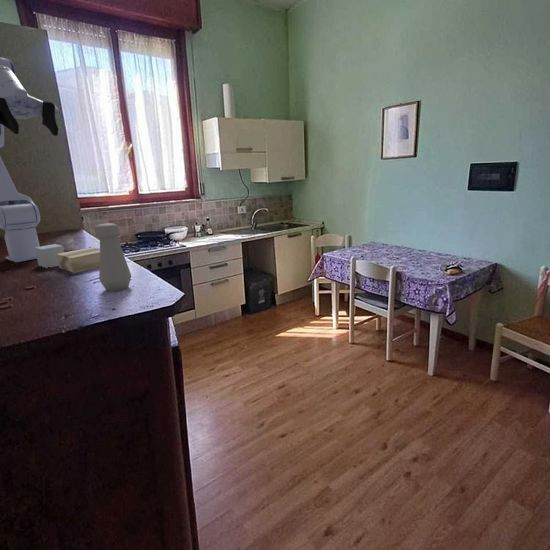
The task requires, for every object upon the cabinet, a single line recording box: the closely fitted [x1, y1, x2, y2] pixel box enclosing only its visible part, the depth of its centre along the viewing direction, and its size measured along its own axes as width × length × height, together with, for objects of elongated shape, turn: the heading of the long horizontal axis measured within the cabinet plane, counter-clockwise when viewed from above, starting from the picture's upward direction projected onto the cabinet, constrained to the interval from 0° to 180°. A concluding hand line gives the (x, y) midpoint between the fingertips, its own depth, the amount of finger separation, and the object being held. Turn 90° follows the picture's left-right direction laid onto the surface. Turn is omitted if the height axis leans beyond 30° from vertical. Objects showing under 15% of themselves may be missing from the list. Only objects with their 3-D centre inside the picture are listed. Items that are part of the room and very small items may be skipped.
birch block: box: [56, 247, 100, 274], centre depth 91 cm, size 9×9×4 cm
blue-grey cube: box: [35, 243, 65, 269], centre depth 94 cm, size 5×5×5 cm
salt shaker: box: [94, 222, 132, 293], centre depth 70 cm, size 6×6×13 cm
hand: (37, 131), depth 78 cm, fingers open, 7 cm apart
